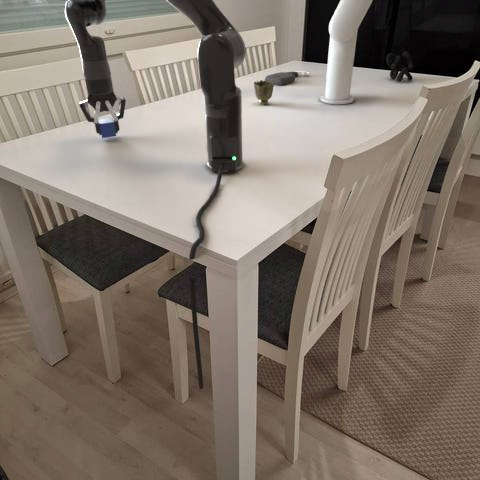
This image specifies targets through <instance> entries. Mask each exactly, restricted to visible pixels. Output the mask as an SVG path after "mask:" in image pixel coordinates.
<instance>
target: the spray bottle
mask: <svg viewBox="0 0 480 480" xmlns="http://www.w3.org/2000/svg"><path fill="white" fill-rule="evenodd" d="M307 75H309V76H310V72H309V71H305V70H295V71H285V72H284V71H282V72H275V73H272V74H268V75H266V76H265V78H264V81H265V80H266V83H267V82H268V83H269V81H271V82H272V81H273V83H274V86H284V85H288V84H291V83H293V82H294V81H296V77H298V76H307Z"/></svg>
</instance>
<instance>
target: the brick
mask: <svg viewBox="0 0 480 480" xmlns="http://www.w3.org/2000/svg"><path fill="white" fill-rule="evenodd" d="M98 122H99V125H100V130H101V135H100V136H101V138H102V139H104V138H112V137H117V133H116V131H115V125H114V119H113V117H109V118H102V119H101V118H99V119H98Z"/></svg>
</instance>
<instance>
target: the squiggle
mask: <svg viewBox="0 0 480 480" xmlns="http://www.w3.org/2000/svg"><path fill="white" fill-rule="evenodd" d="M401 57H402V59H401ZM391 59H392V60H391ZM393 60H394V61H393ZM385 61H386V64H387V67H390V68H391V70H390V72H389V78H390V79H391V80H395V79H396V81H397V82H399V83H400V82H402V81H403V79H404V76H406V78H407V80H408V81H412V80H413V79H414V77H413V75H412V74H411V73H410V72H409V71H410V70H412V69H413V68H414V64H413V61H412V57H411V54H410V53H409V52H408V51H403V53H402V54H401V55H396V54H394V53H392V52H390V53H387V55H386V57H385ZM406 62H407V65H408V66H407V67H405V66H404V65H405V64H406ZM400 70H401V71H400Z"/></svg>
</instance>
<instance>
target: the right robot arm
mask: <svg viewBox="0 0 480 480" xmlns="http://www.w3.org/2000/svg"><path fill="white" fill-rule="evenodd" d="M373 1H374V0H339V3H338V4H337V7H336V9H335V10H334V13H333V15H332V16H331V19H330V21H329V23H328V33H329V42H328V44H329V45H328V54H327V66H326V77H325V78H326V79H325V91H324V94H323V95H321V96H320V101H321V102H322V103H326V104H330V105H347V104H351V103H353V102H354V99H355V98H354V96H353V95H351V88H352V82H353V81H352V80H353V70H354V62H355V53H356V46H357V39H358V31H359V27H360V26H361V23H362V22H363V20H364V18H365V16H366V14H367V12H368V10H369V8H370V7H371V5H372V3H373Z"/></svg>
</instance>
